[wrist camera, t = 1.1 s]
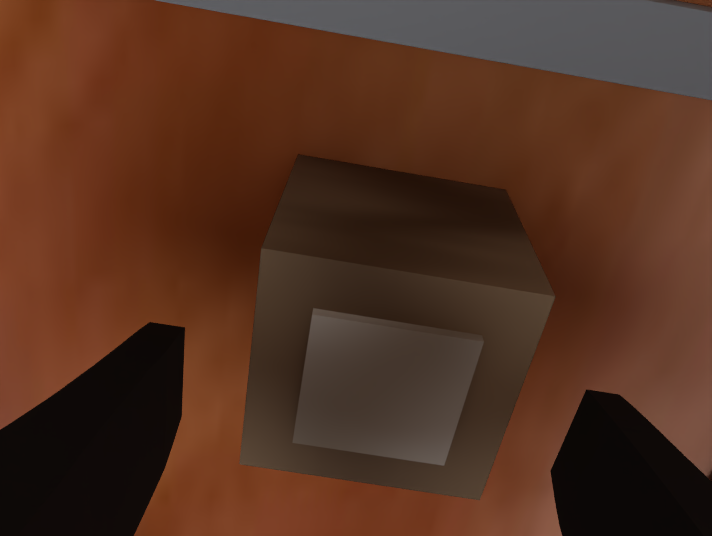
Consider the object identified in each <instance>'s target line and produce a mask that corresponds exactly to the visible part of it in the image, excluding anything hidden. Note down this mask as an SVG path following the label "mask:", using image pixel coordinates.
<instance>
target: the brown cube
mask: <svg viewBox="0 0 712 536" xmlns="http://www.w3.org/2000/svg"><path fill="white" fill-rule="evenodd" d="M555 297H556V296H555V294H554V292H553V290H552V288H551V285H550V283H549V281H548V279H547V277H546V275H545V273H544V271H543V268H542V266H541V264H540V262H539V260H538V258H537V256H536V253H535V251H534V249H533V247H532V245H531V243H530V241H529V238H528V236H527V234H526V232H525V230H524V228H523V226H522V223H521V221H520V219H519V217H518V215H517V213H516V211H515V208H514V206H513V204H512V202H511V200H510V198H509V196H508V193H507V191H506V190H504V189H498V188H492V187H487V186H481V185H475V184H469V183H463V182H457V181H451V180H445V179H440V178H434V177H428V176H422V175H416V174H410V173H404V172H399V171H393V170H387V169H381V168H375V167H369V166H363V165H358V164H352V163H346V162H340V161H334V160H328V159H322V158H317V157H311V156H305V155H299V154H298V156H297V159H296V161H295V164H294V166H293V169H292V171H291V174H290V176H289V179H288V181H287V184H286V187H285V189H284V192H283V194H282V197H281V199H280V202H279V204H278V207H277V209H276V212H275V215H274V217H273V220H272V222H271V225H270V227H269V230H268V232H267V235H266V238H265V240H264V243H263V245H262V248H261V256H260V266H259V276H258V286H257V296H256V306H255V316H254V326H253V336H252V346H251V355H250V365H249V375H248V385H247V395H246V405H245V415H244V425H243V435H242V445H241V454H240V464H242V465H249V466H255V467H262V468H269V469H275V470H282V471H289V472H295V473H302V474H309V475H315V476H322V477H329V478H335V479H342V480H349V481H355V482H362V483H369V484H375V485H382V486H389V487H395V488H402V489H409V490H416V491H422V492H429V493H436V494H442V495H449V496H456V497H462V498H469V499H476V500H480V498H481V495H482V492H483V490H484V487H485V484H486V482H487V479H488V476H489V474H490V471H491V468H492V466H493V463H494V460H495V458H496V455H497V452H498V450H499V447H500V444H501V441H502V439H503V436H504V433H505V431H506V428H507V425H508V423H509V420H510V417H511V415H512V412H513V409H514V407H515V404H516V401H517V399H518V396H519V393H520V391H521V388H522V385H523V383H524V380H525V377H526V374H527V372H528V369H529V366H530V364H531V361H532V358H533V356H534V353H535V350H536V348H537V345H538V342H539V340H540V337H541V334H542V332H543V329H544V326H545V324H546V321H547V318H548V316H549V313H550V310H551V307H552V305H553V302H554V299H555Z"/></svg>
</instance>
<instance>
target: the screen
mask: <svg viewBox="0 0 712 536" xmlns="http://www.w3.org/2000/svg"><path fill="white" fill-rule="evenodd" d="M157 1H162V2H168V3H173V4H179V5H184V6H190V7H195V8H201V9H207V10H212V11H218V12H223V13H229V14H234V15H240V16H246V17H251V18H257V19H262V20H268V21H273V22H279V23H285V24H290V25H296V26H301V27H307V28H312V29H318V30H324V31H329V32H335V33H340V34H346V35H351V36H357V37H363V38H368V39H374V40H379V41H385V42H390V43H396V44H401V45H407V46H413V47H418V48H424V49H429V50H435V51H440V52H446V53H452V54H457V55H463V56H468V57H474V58H479V59H485V60H491V61H496V62H502V63H507V64H513V65H518V66H524V67H530V68H535V69H541V70H546V71H552V72H557V73H563V74H568V75H574V76H580V77H585V78H591V79H596V80H602V81H607V82H613V83H619V84H624V85H630V86H635V87H641V88H646V89H652V90H658V91H663V92H669V93H674V94H680V95H685V96H691V97H697V98H702V99H708V100H712V7H708V6H703V5H698V4H692V3H687V2H681V1H676V0H157Z"/></svg>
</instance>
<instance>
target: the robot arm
mask: <svg viewBox="0 0 712 536" xmlns="http://www.w3.org/2000/svg"><path fill="white" fill-rule="evenodd" d="M184 338H185V328H184V327H178V326H171V325H165V324H158V323H152V322H150V323H148V324H147V325H145V326H144V327H142V328H141V329H140V330H138V331H137V332H136V333H134V334H133V335H132V336H131V337H129V338H128V339H127V340H126V341H124V342H123V343H122V344H121V345H119V346H118V347H117V348H115V349H114V350H113V351H112V352H110V353H109V354H108V355H106V356H105V357H104V358H103V359H101V360H100V361H99V362H97V363H96V364H95V365H93V366H92V367H91V368H89V369H88V370H87V371H85V372H84V373H83V374H81V375H80V376H79V377H77V378H76V379H75V380H73V381H72V382H70V383H69V384H68V385H66V386H65V387H64V388H62V389H61V390H60V391H58V392H57V393H55V394H54V395H52V396H51V397H50V398H48V399H47V400H45V401H44V402H42V403H40V404H39V405H37V406H36V407H34V408H33V409H31V410H30V411H28V412H27V413H25V414H24V415H22V416H21V417H19V418H18V419H16V420H15V421H13V422H12V423H10V424H9V425H7V426H6V427H4V428H2V429H1V430H0V536H134V534H135V532H136V530H137V527H138V525H139V523H140V521H141V519H142V517H143V515H144V512H145V510H146V508H147V506H148V504H149V502H150V499H151V497H152V495H153V493H154V491H155V489H156V486H157V484H158V482H159V480H160V478H161V475H162V473H163V471H164V469H165V466H166V463H167V460H168V457H169V454H170V451H171V448H172V445H173V442H174V439H175V436H176V433H177V429H178V426H179V423H180V420H181V417H182V392H183V365H184ZM551 477H552V483H553V490H554V497H555V503H556V509H557V514H558V520H559V525H560V529H561V532H562V536H712V481H711V480H709V479H708V478H707V477H706V476H705V475H704V474H703V473H702V472H701V471H700V470H699V469H698V468H697V467H696V466H695V465H694V464H693V463H692V462H691V461H690V460H688V459H687V458H686V457H685V456H684V455H683V454H682V453H681V452H680V451H679V450H678V449H677V448H676V447H675V446H674V445H673V444H672V443H671V442H670V441H669V440H668V439H667V438H666V437H665V436H664V435H663V434H662V433H661V432H660V431H659V430H657V429H656V428H655V427H654V426H653V425H652V424H651V423H650V422H649V421H648V420H647V419H646V418H645V417H644V416H643V415H642V414H641V413H640V412H639V411H637V410H636V409H635V408H634V407H633V406H632V405H631V404H630V403H629V402H627V401H626V400H625V399H624V398H623V397H622V396H620V395H618V394H612V393H605V392H599V391H592V390H586V392H585V394H584V396H583V398H582V401H581V403H580V405H579V408H578V410H577V412H576V414H575V417H574V419H573V421H572V423H571V426H570V428H569V430H568V433H567V435H566V437H565V439H564V442H563V444H562V446H561V449H560V451H559V453H558V455H557V458H556V460H555V462H554V464H553V467H552V469H551Z"/></svg>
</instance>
